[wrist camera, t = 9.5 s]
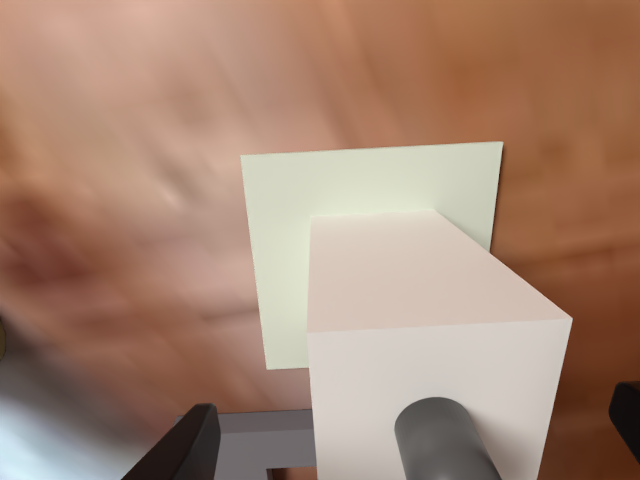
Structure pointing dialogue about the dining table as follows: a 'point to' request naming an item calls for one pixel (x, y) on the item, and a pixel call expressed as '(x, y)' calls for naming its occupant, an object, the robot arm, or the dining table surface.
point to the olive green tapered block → (2, 340)
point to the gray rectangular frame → (264, 443)
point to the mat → (350, 198)
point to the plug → (425, 353)
